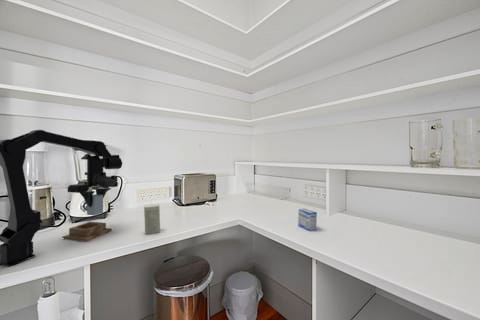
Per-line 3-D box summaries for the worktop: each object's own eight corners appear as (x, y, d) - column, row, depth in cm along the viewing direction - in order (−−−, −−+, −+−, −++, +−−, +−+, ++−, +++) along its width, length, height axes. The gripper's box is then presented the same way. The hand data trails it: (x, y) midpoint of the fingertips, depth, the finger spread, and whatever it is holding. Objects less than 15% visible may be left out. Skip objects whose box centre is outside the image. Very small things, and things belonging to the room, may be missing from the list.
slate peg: (94, 215, 83) (94, 196, 83) (86, 214, 84) (87, 196, 84) (103, 212, 87) (103, 194, 87) (95, 212, 88) (95, 194, 88)
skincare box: (160, 229, 92) (160, 203, 92) (159, 232, 88) (159, 205, 88) (145, 231, 90) (145, 204, 90) (144, 234, 86) (144, 207, 85)
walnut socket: (86, 241, 78) (86, 232, 78) (62, 239, 80) (62, 229, 80) (111, 230, 90) (111, 222, 90) (90, 228, 92) (90, 220, 92)
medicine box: (297, 226, 98) (298, 208, 98) (304, 224, 100) (304, 207, 100) (310, 231, 91) (310, 213, 91) (316, 229, 93) (317, 211, 93)
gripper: (89, 171, 74) (89, 212, 74) (127, 169, 92) (127, 202, 93) (66, 171, 77) (66, 210, 77) (108, 168, 95) (108, 200, 95)
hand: (95, 205), depth 85 cm, fingers closed on slate peg, 4 cm apart
